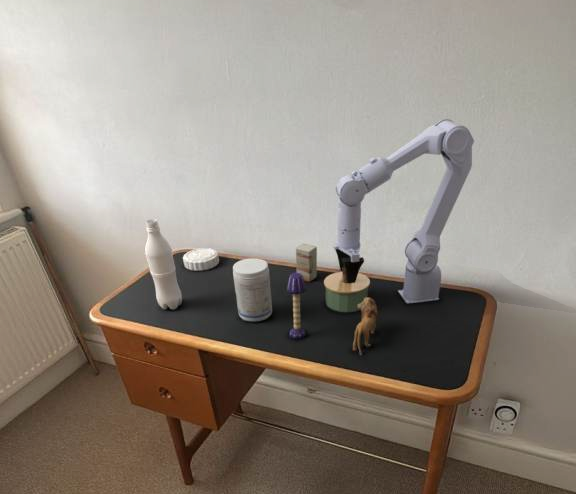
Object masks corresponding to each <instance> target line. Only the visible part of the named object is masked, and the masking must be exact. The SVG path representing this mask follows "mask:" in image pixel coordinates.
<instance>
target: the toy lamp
mask: <svg viewBox="0 0 576 494" xmlns="http://www.w3.org/2000/svg"><path fill="white" fill-rule="evenodd" d="M288 277H289V278H288V282H287V287H286V291H287V293H289V294H290V295H291V294H292V307H293V308H292V312H293V328H291V329H290V331H289V334H288V336H289V337H290V338H291V339H294V340H301V339H303V338H305V337H306V331H305V329H304V328H302V325H301V296H300V295H301V294H304V293H305V292H306V291H307V287H306V281H304V279H303V276H302V274H301V273H297V272H293V273H290V275H289V276H288Z"/></svg>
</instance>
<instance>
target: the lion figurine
mask: <svg viewBox="0 0 576 494" xmlns="http://www.w3.org/2000/svg"><path fill="white" fill-rule="evenodd" d="M357 306H358V308H359V309H360V310H359V311H360V312H361V320H360V322H358V324H357V325H356V329H355V330H354V339H353V343H352V351H358V352H359V355H360V356H363V350H362V349H361V348H362V347H361V335H362V337H363V339H364V345H365V347H366V348H369V347H370V346H372V345H371V343H369V341H370V334H372V335H374V334H375V330H376V326H377V321H378V314H379V313H378V306H377V303H376V301H375V300H374V299H373V298H372V297H369V296H368V297H367V298H364V301H363V302H362V303H359V304H358V305H357Z"/></svg>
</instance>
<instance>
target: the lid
mask: <svg viewBox="0 0 576 494" xmlns="http://www.w3.org/2000/svg"><path fill="white" fill-rule="evenodd" d="M370 284H371V280H370V278H369V277H368V276H367V275H366V274H363V273H360V272H358V275H357V279H356V282H355V283H349V284H348V283H347V280H346V272H345V267H342V271H338V272H334V273H333V272H332V273H331V274H329V275H327V276H326V277H325V278H324V280H323V285H324V287H325V289H326V288H327V289H328V290H330V291H333V292H336V293H343V294H351V293H357V292H361V291H363V290H365V289H367V288H368V289H369V287H370Z"/></svg>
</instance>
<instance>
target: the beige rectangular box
mask: <svg viewBox="0 0 576 494" xmlns="http://www.w3.org/2000/svg"><path fill="white" fill-rule="evenodd" d="M317 262H318V247H317V246H316V245H312V244H308V243H301V244H300V245H298V246H297V247H296V248H295V263H296V264H295V266H296V273H301V274H302V276H303V279H304V282H308V283H310V282H311V281H313V280H315V279H316V278H317V276H318V275H317V274H318V273H317V271H318V270H317V269H318V267H317V265H318V264H317Z"/></svg>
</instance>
